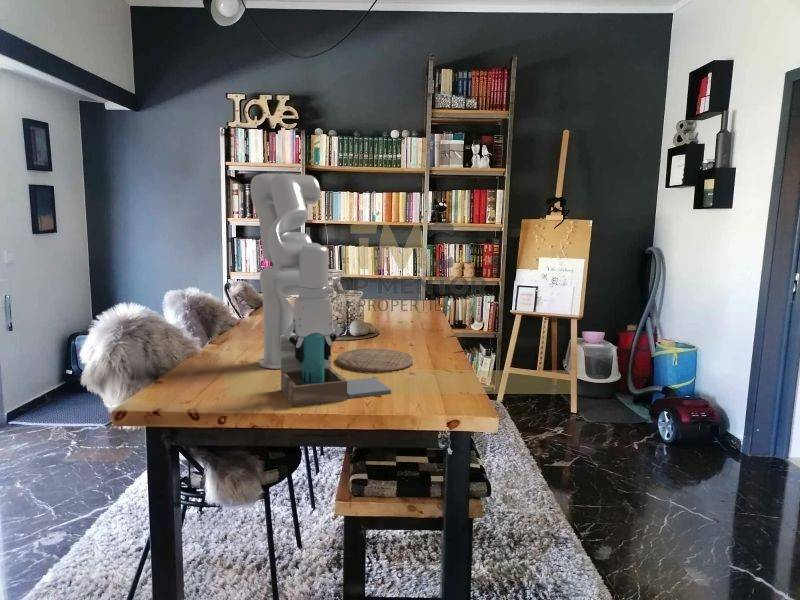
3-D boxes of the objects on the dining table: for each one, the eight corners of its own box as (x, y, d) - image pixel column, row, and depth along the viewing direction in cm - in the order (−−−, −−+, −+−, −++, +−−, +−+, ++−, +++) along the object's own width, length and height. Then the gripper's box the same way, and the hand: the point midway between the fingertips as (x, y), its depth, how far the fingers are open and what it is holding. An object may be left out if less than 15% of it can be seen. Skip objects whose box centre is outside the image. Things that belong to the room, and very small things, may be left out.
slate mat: (335, 385, 148) (335, 381, 148) (374, 380, 153) (374, 377, 153) (349, 398, 138) (349, 394, 138) (391, 393, 143) (391, 389, 143)
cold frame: (280, 389, 144) (280, 335, 141) (329, 383, 149) (330, 332, 147) (293, 406, 130) (293, 347, 128) (346, 400, 136) (347, 343, 134)
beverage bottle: (326, 387, 144) (327, 315, 140) (323, 395, 137) (324, 320, 134) (302, 386, 143) (302, 314, 140) (298, 394, 137) (298, 319, 134)
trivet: (404, 377, 159) (404, 371, 159) (326, 370, 164) (326, 364, 164) (418, 356, 184) (418, 351, 183) (349, 351, 189) (350, 346, 188)
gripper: (340, 290, 143) (339, 353, 146) (276, 292, 136) (276, 359, 138) (349, 294, 136) (348, 361, 139) (283, 296, 129) (283, 367, 132)
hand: (312, 359), depth 139 cm, fingers closed on beverage bottle, 6 cm apart
